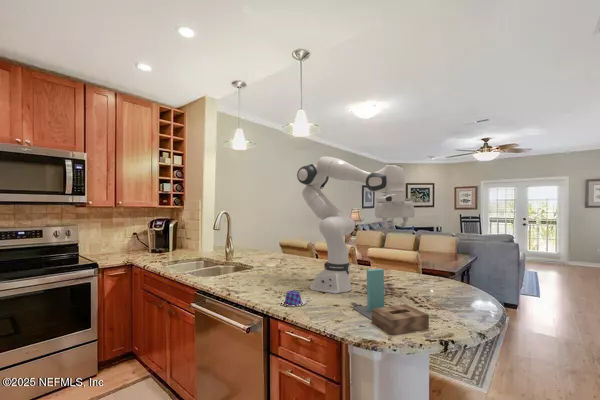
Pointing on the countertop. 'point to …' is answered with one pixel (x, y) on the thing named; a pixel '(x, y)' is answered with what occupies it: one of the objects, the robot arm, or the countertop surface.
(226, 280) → the countertop surface
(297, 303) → the pudding
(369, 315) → the mat
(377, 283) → the cover plate
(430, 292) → the countertop surface
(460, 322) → the countertop surface
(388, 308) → the slot box
